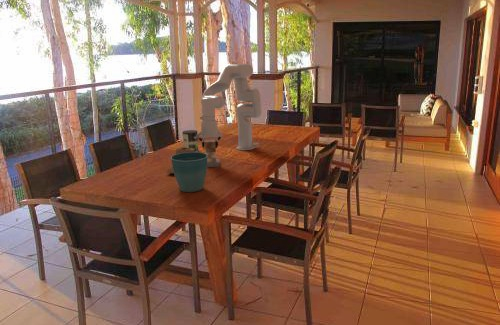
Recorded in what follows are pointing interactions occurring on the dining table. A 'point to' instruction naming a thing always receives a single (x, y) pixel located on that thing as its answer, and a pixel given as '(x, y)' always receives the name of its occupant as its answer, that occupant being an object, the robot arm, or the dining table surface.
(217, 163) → the slate trivet
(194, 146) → the coffee can
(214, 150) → the walnut cube
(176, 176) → the flower pot
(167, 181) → the dining table surface
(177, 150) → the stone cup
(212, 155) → the oak cube
